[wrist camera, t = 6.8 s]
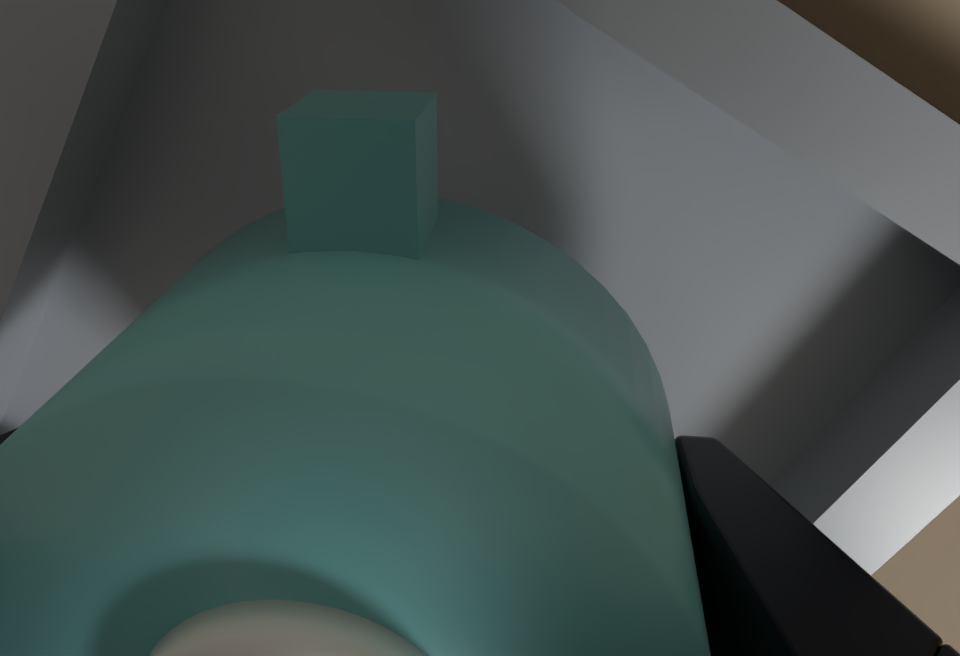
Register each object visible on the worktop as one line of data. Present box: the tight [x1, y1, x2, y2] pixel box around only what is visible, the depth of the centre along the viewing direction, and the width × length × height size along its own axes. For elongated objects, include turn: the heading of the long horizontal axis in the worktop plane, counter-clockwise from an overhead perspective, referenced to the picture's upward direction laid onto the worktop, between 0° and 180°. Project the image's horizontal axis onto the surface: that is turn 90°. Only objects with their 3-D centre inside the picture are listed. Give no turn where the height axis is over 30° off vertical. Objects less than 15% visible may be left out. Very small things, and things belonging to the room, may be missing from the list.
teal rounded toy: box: [0, 89, 711, 656], centre depth 7 cm, size 7×6×4 cm
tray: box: [0, 0, 960, 575], centre depth 11 cm, size 11×11×2 cm
